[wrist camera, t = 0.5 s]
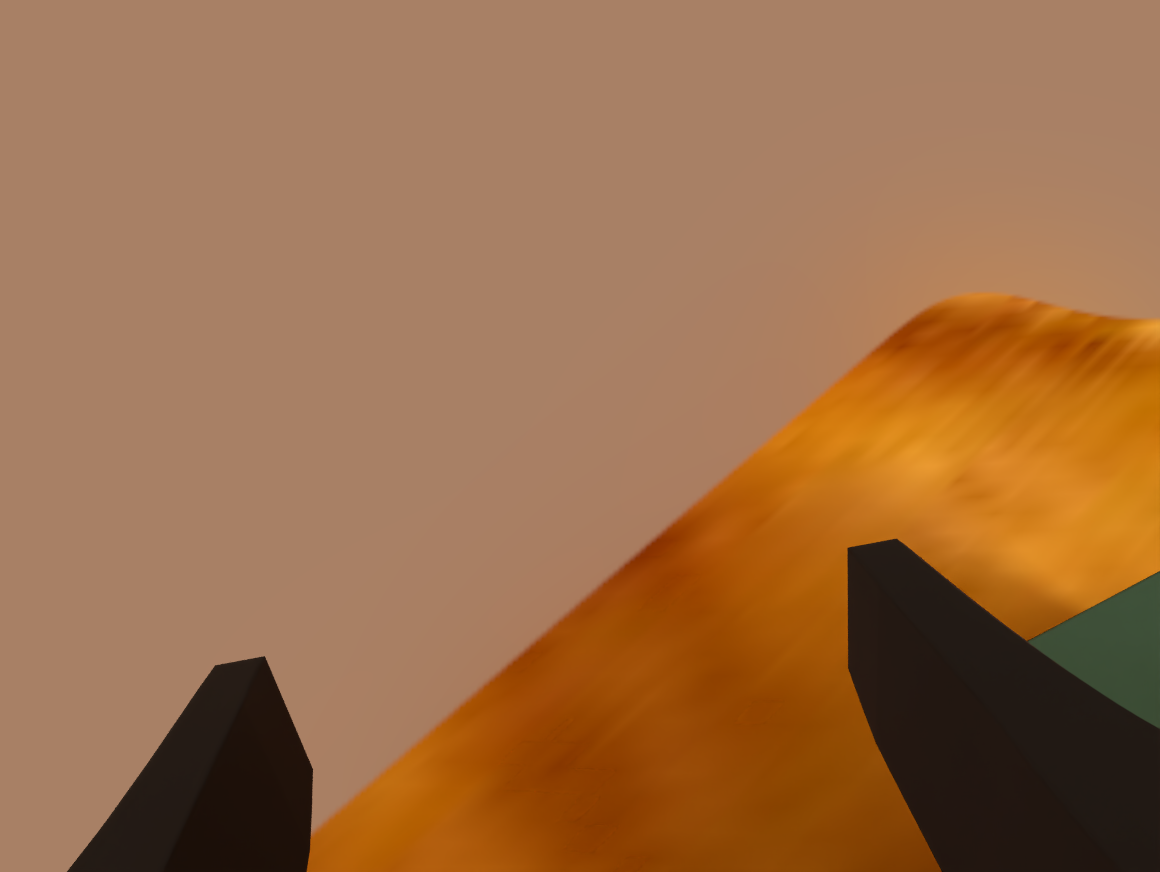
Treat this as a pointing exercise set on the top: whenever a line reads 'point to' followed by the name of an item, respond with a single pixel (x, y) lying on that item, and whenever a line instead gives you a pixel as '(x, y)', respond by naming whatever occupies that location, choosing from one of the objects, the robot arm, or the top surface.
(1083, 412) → the top surface
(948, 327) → the top surface
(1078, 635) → the block
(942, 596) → the robot arm
